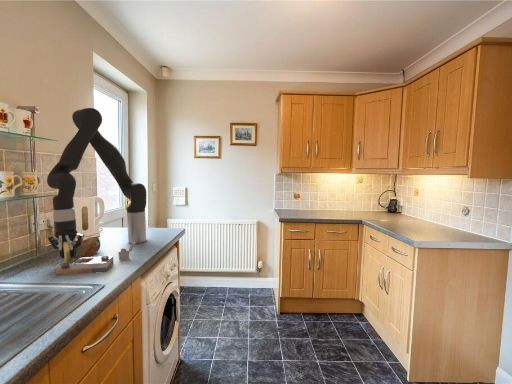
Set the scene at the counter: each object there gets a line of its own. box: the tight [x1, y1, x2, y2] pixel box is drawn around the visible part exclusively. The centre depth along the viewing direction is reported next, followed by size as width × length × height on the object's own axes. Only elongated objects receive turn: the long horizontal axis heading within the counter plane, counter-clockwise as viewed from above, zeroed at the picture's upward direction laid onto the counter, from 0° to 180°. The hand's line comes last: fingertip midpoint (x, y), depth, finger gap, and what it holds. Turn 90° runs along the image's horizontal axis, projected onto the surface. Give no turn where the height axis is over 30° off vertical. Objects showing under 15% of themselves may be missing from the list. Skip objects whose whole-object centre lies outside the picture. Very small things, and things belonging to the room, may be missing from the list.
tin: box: [73, 236, 101, 260], centre depth 119 cm, size 15×3×8 cm, turn 168°
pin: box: [63, 242, 74, 263], centre depth 110 cm, size 3×3×9 cm
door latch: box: [54, 255, 115, 275], centre depth 104 cm, size 8×18×5 cm, turn 99°
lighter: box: [118, 242, 137, 261], centre depth 115 cm, size 7×2×8 cm, turn 105°
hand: (68, 257), depth 110 cm, fingers closed on pin, 3 cm apart
